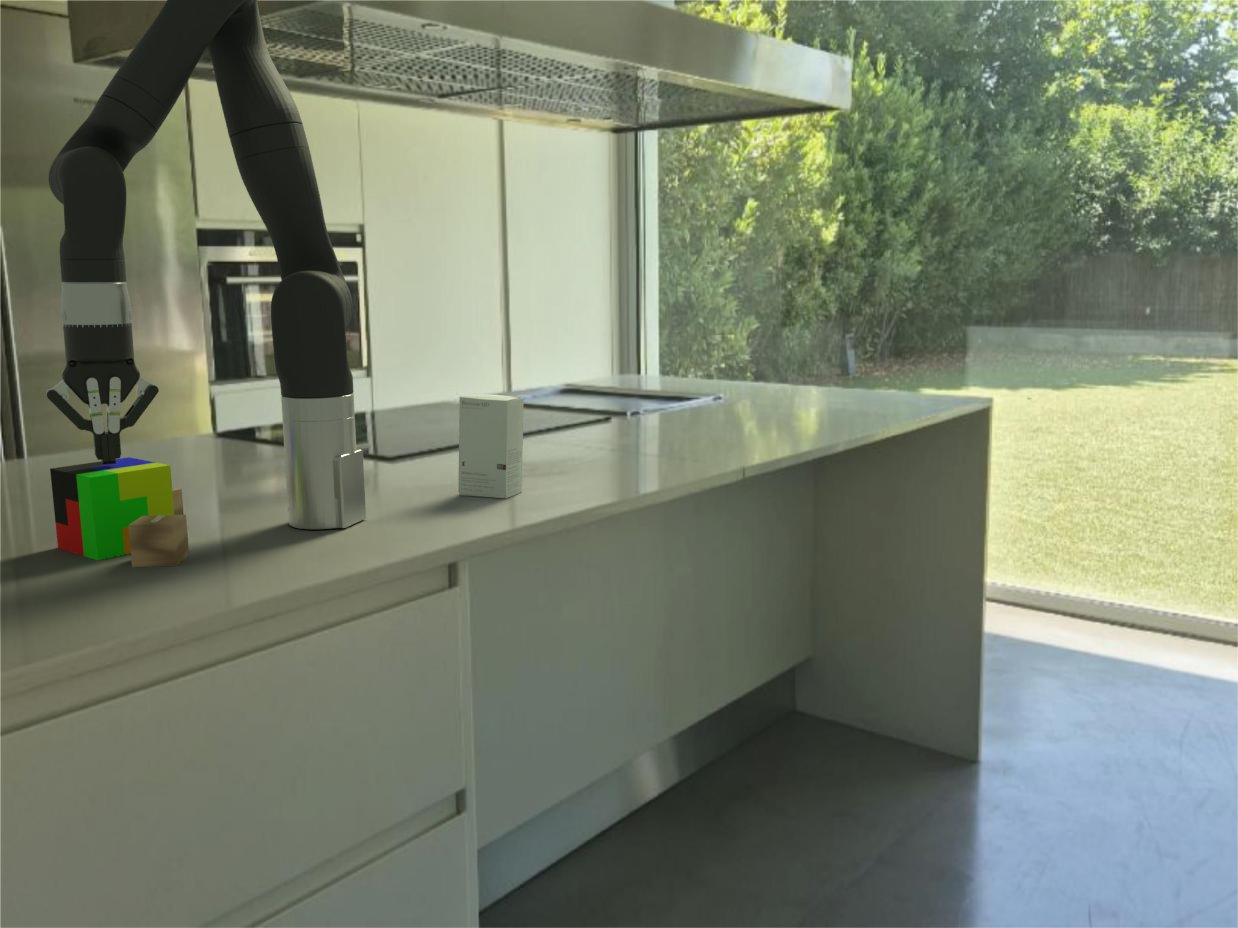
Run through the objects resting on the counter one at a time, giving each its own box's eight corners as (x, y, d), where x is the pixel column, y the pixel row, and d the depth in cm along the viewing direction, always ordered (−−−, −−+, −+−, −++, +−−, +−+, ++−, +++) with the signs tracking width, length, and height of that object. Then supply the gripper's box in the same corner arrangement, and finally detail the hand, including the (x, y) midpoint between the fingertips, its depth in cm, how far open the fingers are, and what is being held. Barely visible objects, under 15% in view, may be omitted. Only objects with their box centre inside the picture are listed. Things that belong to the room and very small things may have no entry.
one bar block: (189, 555, 135) (185, 513, 134) (176, 566, 130) (173, 522, 129) (146, 556, 134) (142, 514, 133) (132, 567, 129) (128, 524, 129)
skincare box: (458, 496, 167) (454, 396, 165) (477, 488, 173) (473, 392, 170) (508, 499, 165) (506, 398, 162) (526, 491, 170) (524, 394, 167)
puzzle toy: (135, 533, 146) (129, 457, 145) (176, 544, 140) (170, 465, 138) (58, 548, 139) (50, 468, 137) (97, 561, 132) (89, 477, 131)
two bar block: (184, 525, 150) (181, 487, 149) (152, 533, 146) (149, 494, 145) (159, 521, 153) (156, 484, 152) (127, 529, 149) (124, 491, 148)
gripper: (152, 318, 141) (161, 454, 144) (34, 320, 135) (46, 462, 138) (160, 320, 135) (170, 463, 138) (37, 323, 128) (50, 472, 131)
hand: (108, 462), depth 138 cm, fingers closed
